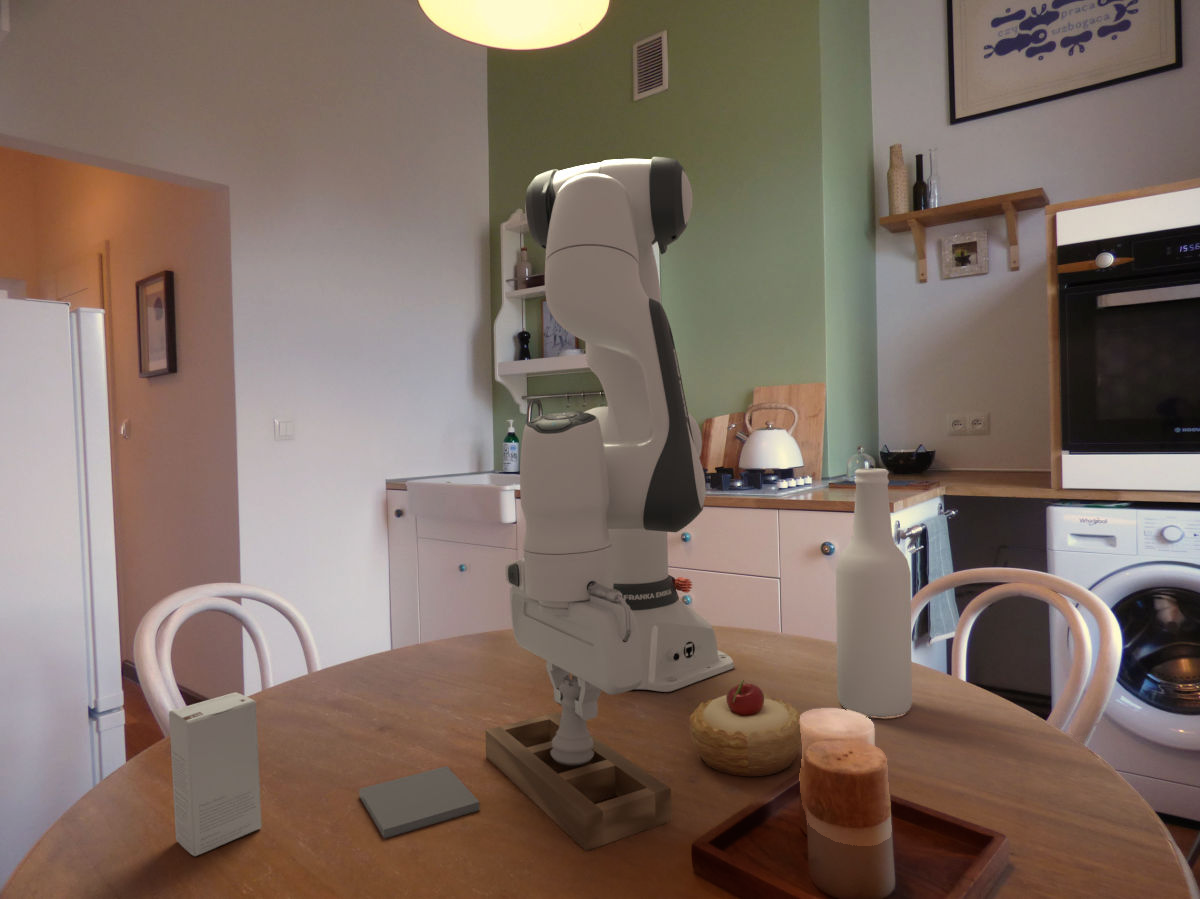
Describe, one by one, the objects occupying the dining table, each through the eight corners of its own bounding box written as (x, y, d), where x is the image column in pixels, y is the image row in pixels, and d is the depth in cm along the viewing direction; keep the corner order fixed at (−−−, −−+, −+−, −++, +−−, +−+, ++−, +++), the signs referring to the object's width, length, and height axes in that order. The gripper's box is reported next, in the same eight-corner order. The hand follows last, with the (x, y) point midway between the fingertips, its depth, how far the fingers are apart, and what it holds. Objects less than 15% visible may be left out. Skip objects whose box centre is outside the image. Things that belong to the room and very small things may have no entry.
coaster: (447, 773, 79) (446, 766, 79) (479, 810, 71) (479, 801, 71) (359, 796, 74) (359, 788, 74) (384, 838, 67) (383, 829, 67)
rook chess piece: (590, 769, 73) (594, 687, 73) (545, 764, 74) (549, 683, 74) (597, 751, 78) (600, 673, 78) (554, 747, 78) (557, 670, 78)
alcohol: (927, 714, 92) (925, 469, 91) (869, 725, 89) (866, 472, 88) (878, 691, 100) (876, 466, 99) (823, 700, 97) (820, 469, 96)
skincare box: (241, 815, 71) (237, 688, 71) (264, 830, 68) (259, 699, 68) (171, 843, 67) (166, 708, 66) (192, 861, 64) (187, 720, 63)
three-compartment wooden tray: (558, 737, 87) (557, 712, 87) (671, 820, 69) (670, 788, 68) (486, 756, 83) (485, 729, 83) (585, 851, 64) (585, 816, 64)
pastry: (807, 742, 85) (806, 664, 85) (799, 791, 74) (798, 701, 73) (702, 730, 89) (701, 656, 89) (679, 775, 78) (678, 690, 77)
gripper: (656, 587, 68) (662, 736, 69) (548, 556, 85) (554, 675, 86) (597, 599, 65) (604, 756, 65) (497, 564, 82) (504, 688, 83)
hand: (575, 710), depth 76 cm, fingers closed on rook chess piece, 3 cm apart
